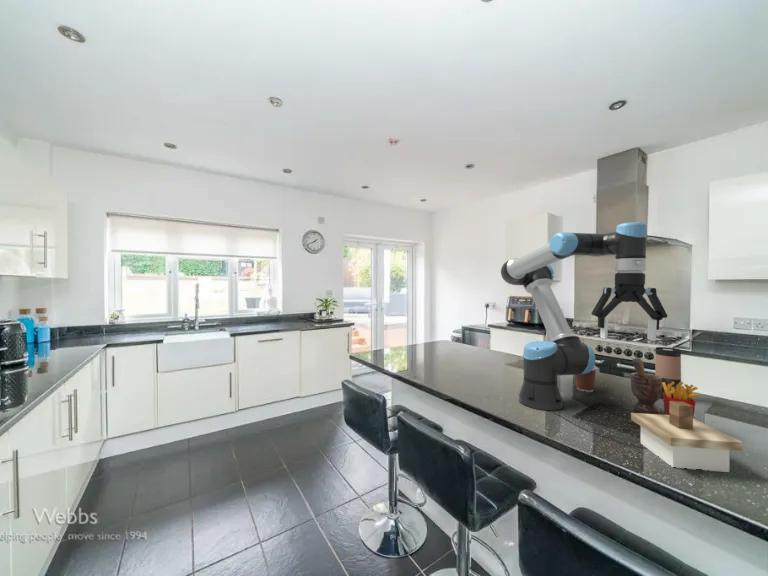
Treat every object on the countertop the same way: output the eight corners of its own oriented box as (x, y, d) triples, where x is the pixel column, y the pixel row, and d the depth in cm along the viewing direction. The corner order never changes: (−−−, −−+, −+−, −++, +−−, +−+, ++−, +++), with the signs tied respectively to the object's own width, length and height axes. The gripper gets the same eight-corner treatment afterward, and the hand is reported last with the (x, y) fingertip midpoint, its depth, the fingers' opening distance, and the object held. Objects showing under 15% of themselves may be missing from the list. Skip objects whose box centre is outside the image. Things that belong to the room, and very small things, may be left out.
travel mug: (683, 399, 122) (683, 349, 122) (678, 403, 118) (678, 351, 118) (658, 393, 129) (658, 346, 129) (652, 397, 124) (652, 348, 124)
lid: (670, 445, 74) (670, 413, 74) (631, 419, 89) (631, 392, 89) (742, 451, 72) (742, 417, 72) (689, 423, 87) (689, 395, 87)
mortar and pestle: (662, 421, 101) (662, 362, 101) (629, 414, 107) (629, 358, 107) (661, 411, 110) (661, 356, 110) (631, 405, 116) (631, 352, 116)
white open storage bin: (672, 467, 76) (672, 443, 76) (640, 443, 87) (640, 422, 87) (729, 472, 74) (729, 447, 74) (688, 446, 85) (688, 425, 85)
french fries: (661, 420, 102) (661, 376, 102) (695, 426, 98) (695, 380, 98) (669, 431, 95) (669, 383, 95) (706, 438, 90) (706, 387, 90)
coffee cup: (570, 389, 134) (570, 362, 134) (576, 384, 140) (576, 358, 140) (594, 394, 127) (594, 366, 127) (600, 389, 133) (600, 362, 133)
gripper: (592, 272, 94) (590, 339, 95) (684, 272, 90) (681, 343, 91) (581, 272, 102) (579, 335, 103) (666, 272, 98) (663, 338, 99)
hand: (627, 339), depth 97 cm, fingers open, 13 cm apart
